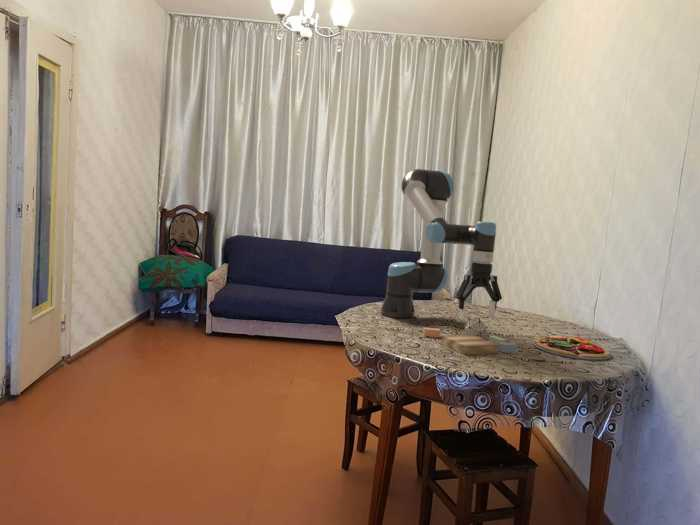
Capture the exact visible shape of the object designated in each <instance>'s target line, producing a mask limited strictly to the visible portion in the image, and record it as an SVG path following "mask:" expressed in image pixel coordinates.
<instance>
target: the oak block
mask: <svg viewBox="0 0 700 525" xmlns="http://www.w3.org/2000/svg"><path fill="white" fill-rule="evenodd" d="M440 342H441V345H442V344H443V345H442V346H445V347H447V348H449V349H451V350H453V349H454V350H453V351H455V350H456V352H458V353H460V354H462V353H463V354H462V355H464V354H468V355H485V354H486V355H487V354H488V355H490V354H498V345H497V344H495V343H492V342H490V341H488V339H485V338H482V337H481V338H480V337H477V336H475V335H468V334H465V335H461V334H459V335H458V334H457V335H456V334H455V335H452V334H451V335H441V341H440Z"/></svg>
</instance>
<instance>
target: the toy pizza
mask: <svg viewBox="0 0 700 525" xmlns="http://www.w3.org/2000/svg"><path fill="white" fill-rule="evenodd" d="M532 345H533V346H534V347H535V346H536V347H535V348H537V349H538V348H539V350H540V349H541V350H540V351H542V350H543V351H542V352H545V351H546V352H545V353H548V352H549V353H548V354H551V353H552V355H554V354H556V356H558V355H560V356H559V357H563V356H564V358H568V357H569V359H574V358H575V360H583V361H605V360H609V359H611V358H612V356H613V354H612V353H611V352H610V351H608V350H607V349H606V348H604V347H601V346H599V345H597V344H594V342H592V341H591V340H589V339H586V338H582V337H577V336H574V337H570V338H569V339H568V337H567V336H562V335H550V336H545V337H541V338H540V337H539V338H537V339H535V340H533V342H532Z"/></svg>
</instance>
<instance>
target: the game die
mask: <svg viewBox="0 0 700 525" xmlns="http://www.w3.org/2000/svg"><path fill="white" fill-rule="evenodd" d="M467 319H468V321H467V323H466V324H465V326H464V328H461V330H462V331H465V332H466V335H475V336H477V337H480V338H482V336H483V334H484V333H485V332H486V329H488V328H489V326H485V324H484V323H483V322H482V321H481V317H479V318H473V319H472V318H470V317H467Z"/></svg>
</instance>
